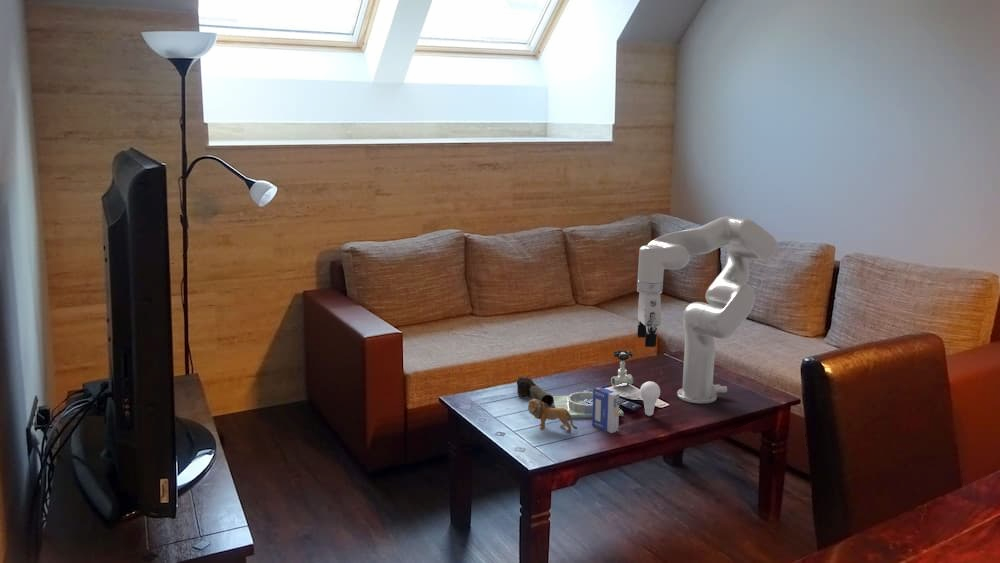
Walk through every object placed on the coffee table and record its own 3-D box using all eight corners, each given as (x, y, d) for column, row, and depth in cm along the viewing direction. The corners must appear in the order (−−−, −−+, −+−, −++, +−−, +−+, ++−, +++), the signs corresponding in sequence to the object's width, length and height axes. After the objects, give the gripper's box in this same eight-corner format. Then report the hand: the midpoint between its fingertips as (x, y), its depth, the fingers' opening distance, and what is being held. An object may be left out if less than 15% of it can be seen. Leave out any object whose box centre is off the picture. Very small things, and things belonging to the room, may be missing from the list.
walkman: (591, 425, 239) (593, 387, 236) (598, 423, 241) (599, 385, 238) (612, 433, 233) (613, 394, 230) (618, 431, 235) (620, 392, 232)
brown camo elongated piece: (554, 406, 254) (554, 389, 253) (535, 410, 251) (535, 393, 250) (528, 388, 270) (528, 372, 268) (510, 391, 267) (510, 375, 265)
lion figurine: (526, 431, 235) (527, 402, 233) (528, 423, 240) (528, 395, 238) (577, 433, 233) (577, 404, 231) (577, 426, 238) (578, 398, 236)
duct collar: (611, 397, 261) (611, 388, 260) (623, 416, 245) (623, 406, 245) (550, 399, 259) (550, 390, 258) (559, 419, 243) (559, 409, 243)
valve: (608, 384, 273) (609, 350, 270) (624, 382, 275) (626, 348, 273) (618, 391, 267) (619, 356, 264) (635, 388, 270) (636, 354, 267)
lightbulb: (638, 411, 250) (640, 378, 247) (658, 412, 249) (660, 379, 246) (639, 419, 244) (640, 384, 241) (659, 420, 243) (661, 386, 240)
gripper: (669, 293, 231) (666, 350, 235) (654, 280, 248) (651, 334, 252) (644, 293, 231) (640, 350, 234) (631, 280, 248) (627, 333, 251)
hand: (646, 341), depth 243 cm, fingers open, 9 cm apart
